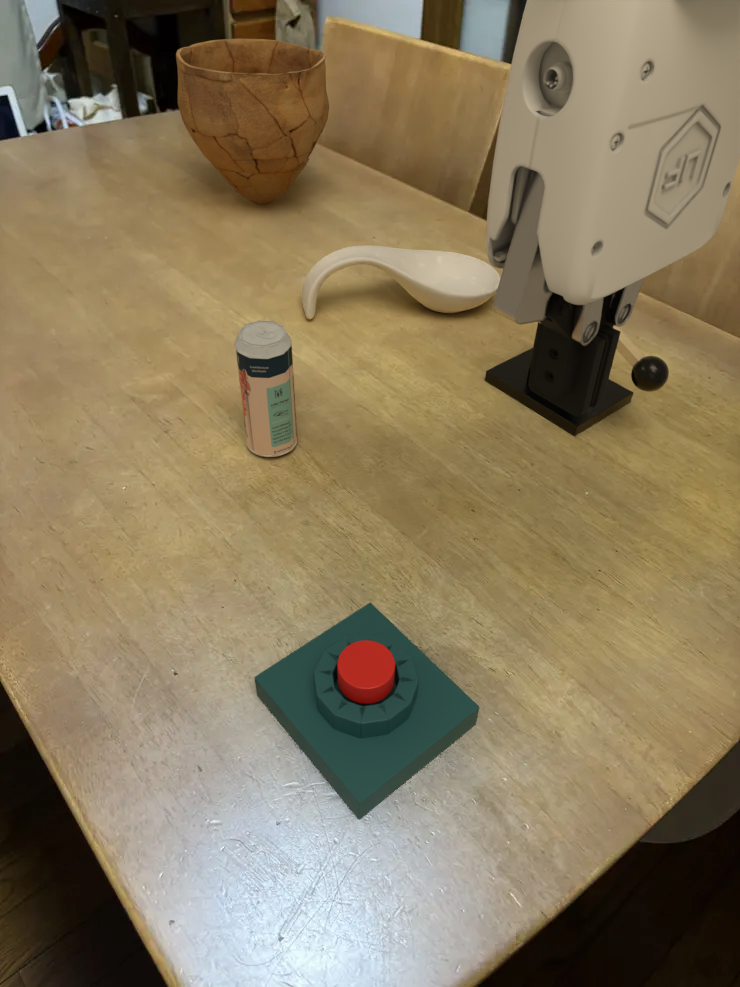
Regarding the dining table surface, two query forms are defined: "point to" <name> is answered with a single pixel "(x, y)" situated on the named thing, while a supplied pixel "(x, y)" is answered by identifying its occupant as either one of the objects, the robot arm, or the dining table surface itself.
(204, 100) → the bowl
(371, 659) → the button
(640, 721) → the dining table surface
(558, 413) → the bracket
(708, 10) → the robot arm
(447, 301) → the spoon rest
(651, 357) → the switch lever
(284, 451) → the beer can
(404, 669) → the button block
